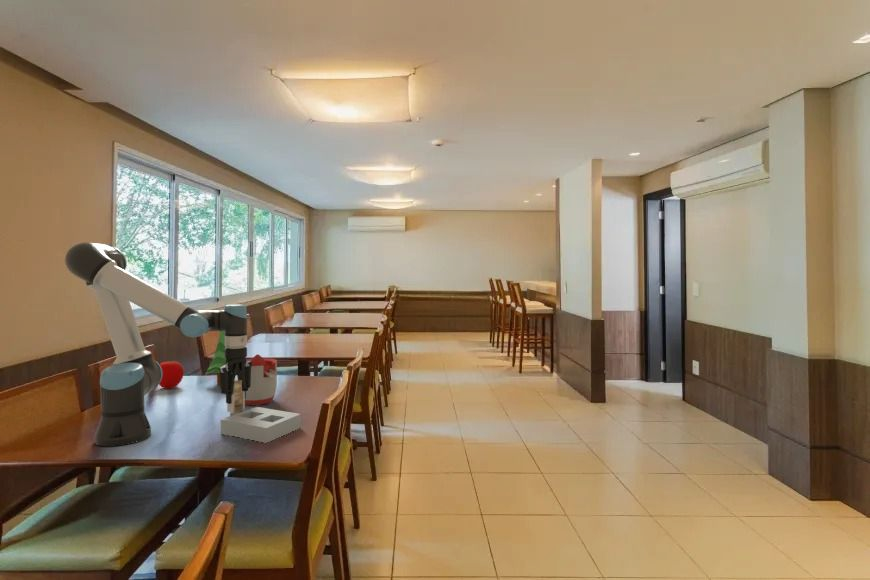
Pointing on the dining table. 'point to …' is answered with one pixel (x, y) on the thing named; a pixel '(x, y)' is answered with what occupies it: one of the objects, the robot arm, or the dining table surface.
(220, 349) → the decorative tree
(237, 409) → the peg
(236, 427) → the board
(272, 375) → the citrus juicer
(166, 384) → the red rounded piece
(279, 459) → the dining table surface
